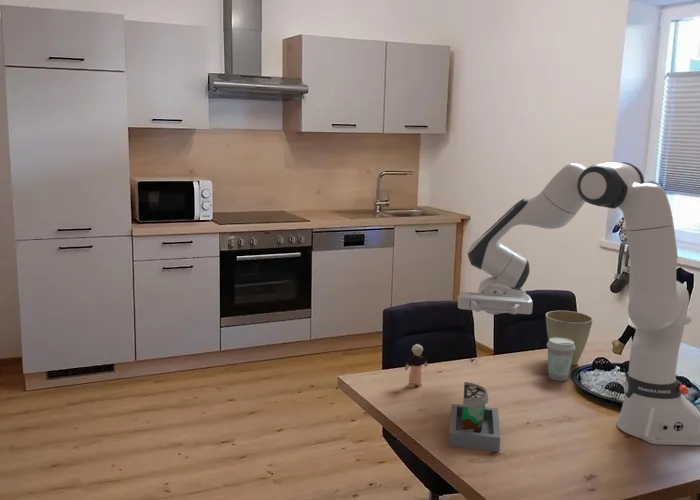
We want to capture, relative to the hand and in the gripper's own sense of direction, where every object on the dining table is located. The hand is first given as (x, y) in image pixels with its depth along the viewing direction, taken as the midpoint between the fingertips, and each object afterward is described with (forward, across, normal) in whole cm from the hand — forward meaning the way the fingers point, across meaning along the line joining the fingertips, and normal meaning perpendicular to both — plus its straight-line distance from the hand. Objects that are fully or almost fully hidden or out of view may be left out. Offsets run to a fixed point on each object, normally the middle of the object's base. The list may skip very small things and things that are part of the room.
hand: (495, 310), depth 182 cm
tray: (+17, -4, +28) cm, 33 cm away
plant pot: (-47, +26, +28) cm, 61 cm away
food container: (+16, -4, +27) cm, 32 cm away
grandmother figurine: (-13, -21, +28) cm, 37 cm away
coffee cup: (-31, +22, +28) cm, 47 cm away
